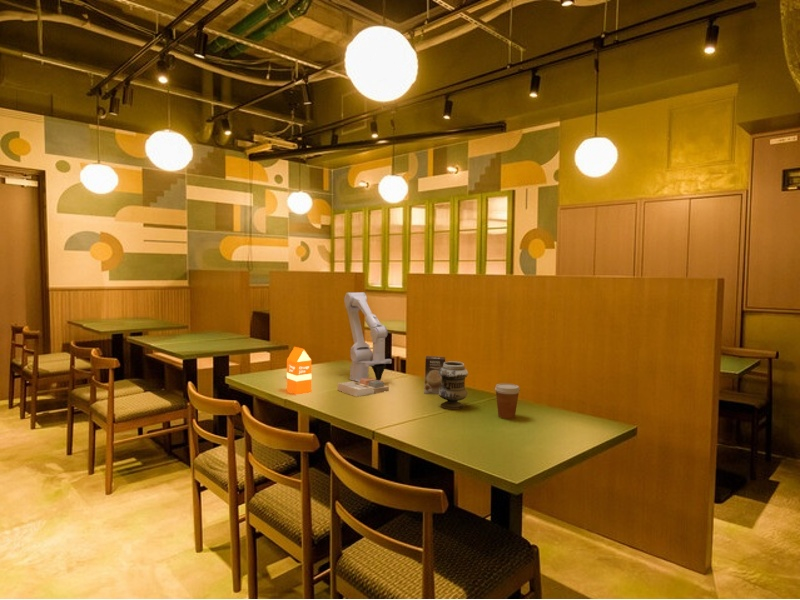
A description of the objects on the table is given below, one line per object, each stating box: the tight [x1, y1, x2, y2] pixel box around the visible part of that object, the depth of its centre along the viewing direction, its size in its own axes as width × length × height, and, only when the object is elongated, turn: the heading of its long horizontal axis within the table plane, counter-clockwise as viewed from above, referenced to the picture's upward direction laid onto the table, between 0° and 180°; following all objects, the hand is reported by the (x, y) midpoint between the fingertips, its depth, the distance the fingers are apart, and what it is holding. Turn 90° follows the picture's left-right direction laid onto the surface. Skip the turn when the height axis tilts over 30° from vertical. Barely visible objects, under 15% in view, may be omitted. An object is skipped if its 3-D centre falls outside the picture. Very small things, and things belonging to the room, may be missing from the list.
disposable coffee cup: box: [494, 382, 521, 420], centre depth 198 cm, size 10×10×12 cm
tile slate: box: [369, 379, 385, 388], centre depth 236 cm, size 5×5×2 cm
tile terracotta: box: [360, 377, 376, 385], centre depth 241 cm, size 5×5×2 cm
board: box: [355, 382, 390, 394], centre depth 238 cm, size 15×8×2 cm, turn 40°
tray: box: [337, 380, 375, 398], centre depth 233 cm, size 15×10×4 cm, turn 40°
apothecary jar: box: [437, 360, 469, 410], centre depth 211 cm, size 12×12×18 cm
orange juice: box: [286, 346, 313, 395], centre depth 231 cm, size 8×9×20 cm
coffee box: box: [423, 355, 446, 395], centre depth 234 cm, size 9×6×16 cm
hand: (378, 379), depth 245 cm, fingers closed
